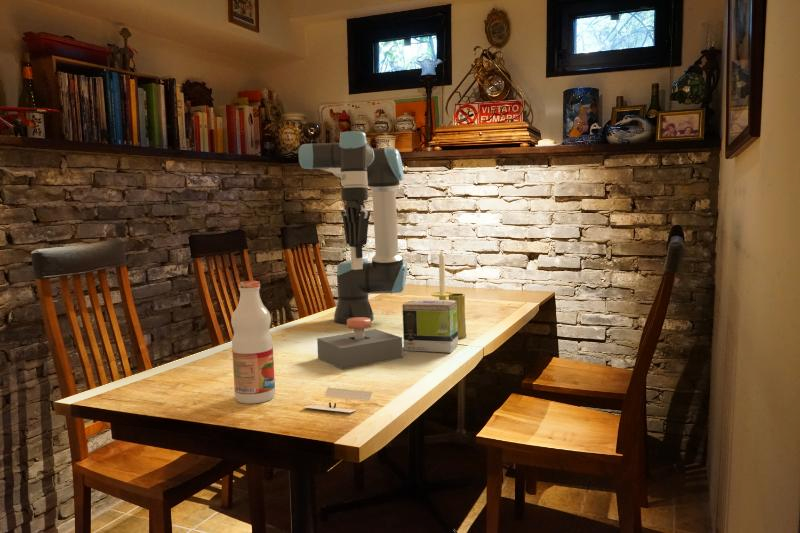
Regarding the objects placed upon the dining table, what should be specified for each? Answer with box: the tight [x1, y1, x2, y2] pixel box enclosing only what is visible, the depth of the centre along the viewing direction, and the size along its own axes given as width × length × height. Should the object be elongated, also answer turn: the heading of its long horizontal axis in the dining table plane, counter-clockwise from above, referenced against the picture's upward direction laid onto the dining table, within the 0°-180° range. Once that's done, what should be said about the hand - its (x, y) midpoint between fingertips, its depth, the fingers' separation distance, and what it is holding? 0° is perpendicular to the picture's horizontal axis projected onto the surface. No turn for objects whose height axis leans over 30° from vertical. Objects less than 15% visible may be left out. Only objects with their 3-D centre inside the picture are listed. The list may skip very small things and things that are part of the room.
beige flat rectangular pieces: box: [304, 387, 373, 413], centre depth 141 cm, size 12×12×2 cm
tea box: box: [401, 299, 459, 354], centre depth 189 cm, size 15×10×15 cm
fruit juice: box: [230, 280, 276, 405], centre depth 145 cm, size 9×9×28 cm
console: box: [316, 328, 403, 371], centre depth 181 cm, size 15×20×6 cm
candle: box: [431, 249, 453, 300], centre depth 232 cm, size 10×10×27 cm
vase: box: [448, 292, 467, 340], centre depth 204 cm, size 6×6×14 cm
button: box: [346, 317, 372, 341], centre depth 180 cm, size 7×7×8 cm
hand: (357, 268), depth 178 cm, fingers closed
